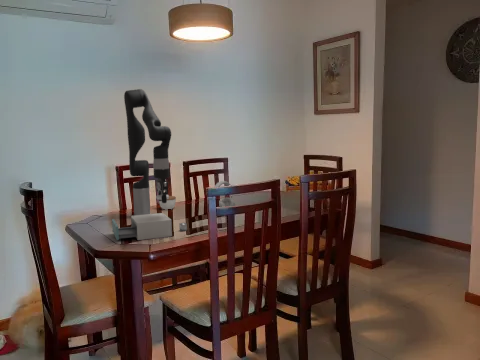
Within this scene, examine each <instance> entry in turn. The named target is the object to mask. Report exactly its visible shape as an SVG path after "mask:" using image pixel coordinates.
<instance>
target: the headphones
mask: <svg viewBox="0 0 480 360" xmlns="http://www.w3.org/2000/svg"><path fill="white" fill-rule="evenodd" d="M222 185H225V186H226V187H227V186H228V185H231V183H230V182H228V181H226V180H225V181H223V180H222V181H217V182H216V184H215V185H214V187H219V188H220V187H221V186H222ZM219 206H220V207H222V206H235V207H236V202H235V200H234V199H233V195H232V196H231V195H230V197H229V196H228V197H223V199H222V200H219Z"/></svg>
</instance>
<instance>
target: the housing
mask: <svg viewBox="0 0 480 360" xmlns="http://www.w3.org/2000/svg"><path fill="white" fill-rule="evenodd" d="M130 217H131V218H130V219H131V221H130V222H131V227H136V226H137V237H135V239H136V240H137V241H144V240H151V239H162V238H168V237H169V238H170V237H173V233H172V232H173V228H172V226H173V225H172V224H173V223H172V219H171V218H170V217H168V216H167V215H166V214H165V213H164V212H159V213H150V214H146V215H135V216H134V215H131V216H130Z"/></svg>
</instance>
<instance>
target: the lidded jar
mask: <svg viewBox="0 0 480 360" xmlns="http://www.w3.org/2000/svg"><path fill="white" fill-rule="evenodd" d="M176 201H177V200H176V196H174V195H169V199H167V202H166V203H162V201H159V200H158V202H159V206H160V208H161V209H162V210H163V209H165V210H164V211H168V210H167V209H171V210H173V209H174V207H175V206H176Z"/></svg>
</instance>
